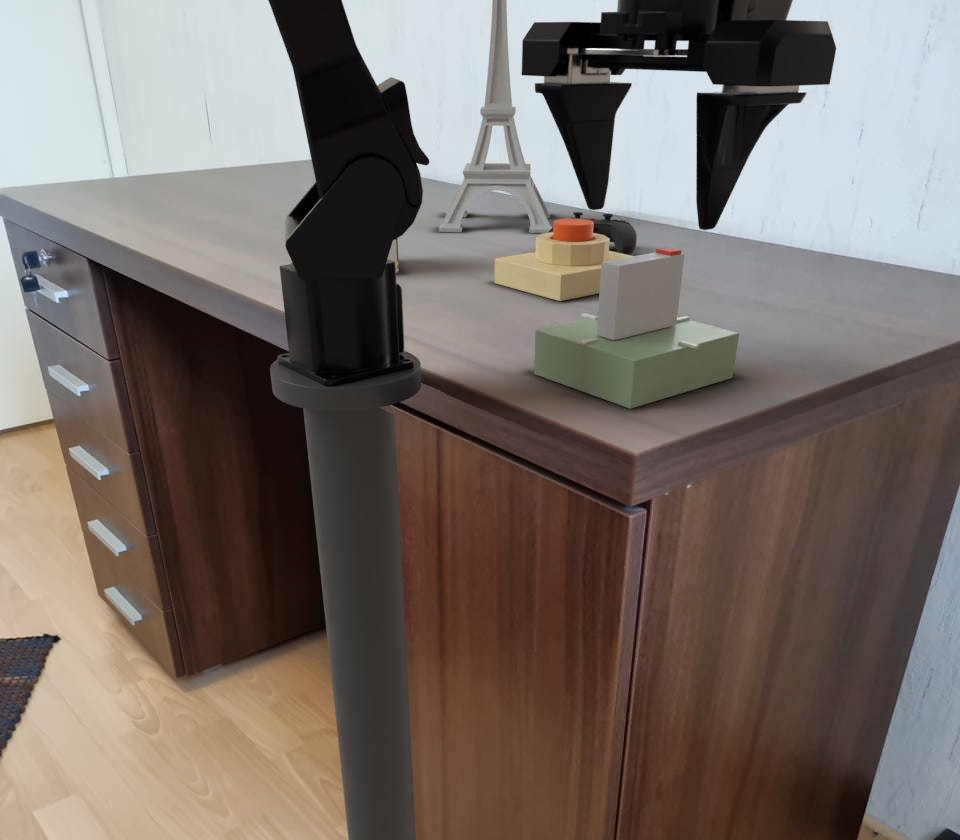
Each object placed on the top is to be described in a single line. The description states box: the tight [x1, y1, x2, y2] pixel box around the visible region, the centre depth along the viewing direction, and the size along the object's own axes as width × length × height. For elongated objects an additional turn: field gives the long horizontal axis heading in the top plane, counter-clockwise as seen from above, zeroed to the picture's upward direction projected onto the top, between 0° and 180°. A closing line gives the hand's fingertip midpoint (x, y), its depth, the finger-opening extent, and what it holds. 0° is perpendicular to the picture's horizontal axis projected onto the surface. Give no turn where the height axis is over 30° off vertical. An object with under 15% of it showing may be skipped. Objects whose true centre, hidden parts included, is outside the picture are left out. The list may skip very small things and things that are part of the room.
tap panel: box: [533, 312, 740, 410], centre depth 62 cm, size 10×10×3 cm
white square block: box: [597, 246, 685, 340], centre depth 59 cm, size 6×2×5 cm, turn 129°
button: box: [552, 218, 594, 242], centre depth 83 cm, size 4×4×2 cm
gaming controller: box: [548, 211, 638, 256], centre depth 99 cm, size 10×5×6 cm
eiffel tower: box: [438, 0, 553, 234], centre depth 105 cm, size 13×13×30 cm
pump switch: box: [494, 232, 634, 302], centre depth 85 cm, size 11×9×4 cm
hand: (648, 218), depth 57 cm, fingers open, 9 cm apart
